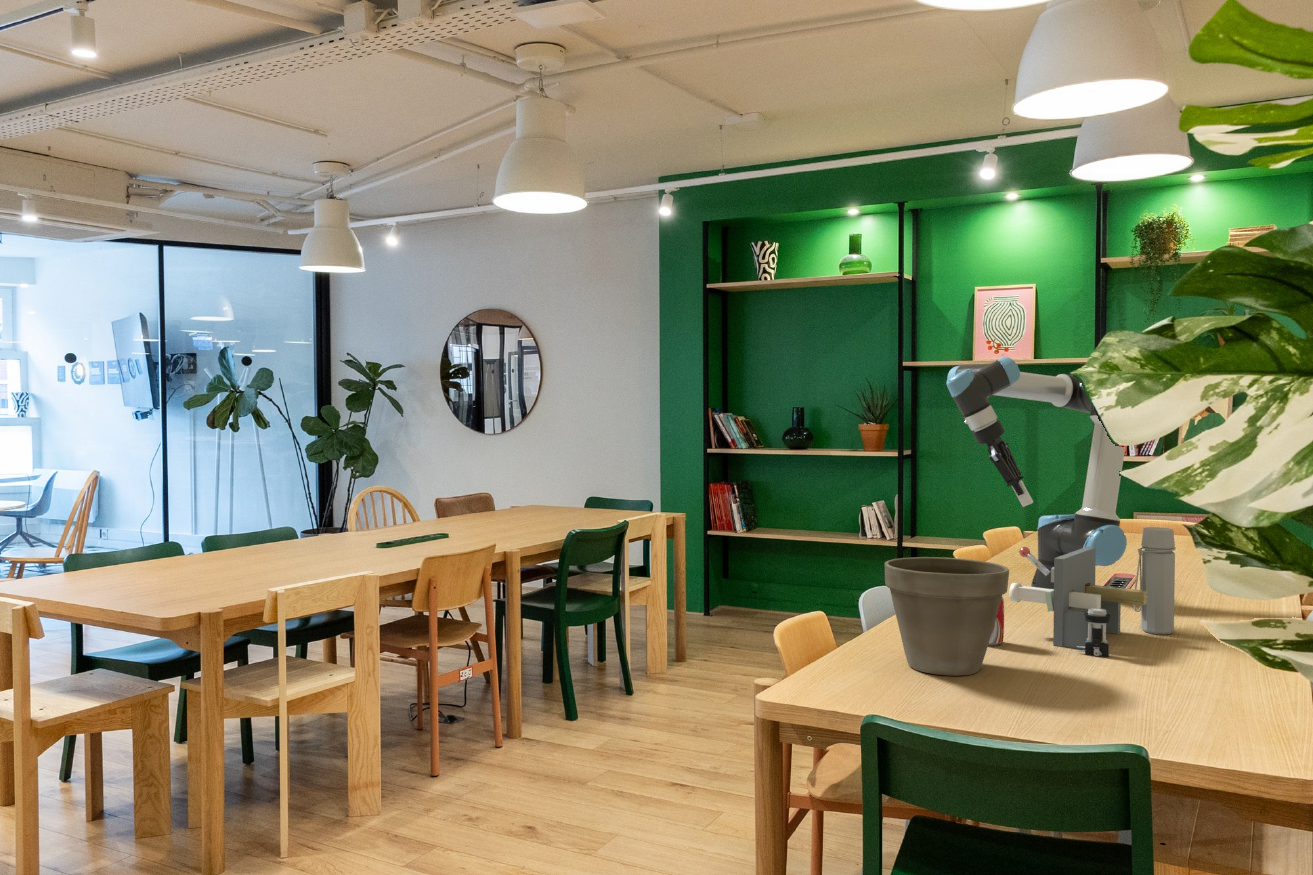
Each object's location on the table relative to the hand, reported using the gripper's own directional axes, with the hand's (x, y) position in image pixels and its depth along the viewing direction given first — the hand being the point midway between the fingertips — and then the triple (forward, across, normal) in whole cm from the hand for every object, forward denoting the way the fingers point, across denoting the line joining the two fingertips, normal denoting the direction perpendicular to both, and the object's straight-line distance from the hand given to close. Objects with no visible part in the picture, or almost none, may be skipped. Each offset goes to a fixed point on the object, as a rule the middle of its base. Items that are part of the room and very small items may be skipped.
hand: (1028, 504), depth 258 cm
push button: (+27, +44, +10) cm, 53 cm away
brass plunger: (+24, +22, +11) cm, 34 cm away
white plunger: (+18, +32, +4) cm, 37 cm away
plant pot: (+11, +70, -11) cm, 72 cm away
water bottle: (+37, +14, +16) cm, 43 cm away
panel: (+28, +29, +6) cm, 41 cm away
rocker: (+17, +36, +4) cm, 40 cm away
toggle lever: (+9, +34, +4) cm, 35 cm away
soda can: (+17, +45, -10) cm, 49 cm away
